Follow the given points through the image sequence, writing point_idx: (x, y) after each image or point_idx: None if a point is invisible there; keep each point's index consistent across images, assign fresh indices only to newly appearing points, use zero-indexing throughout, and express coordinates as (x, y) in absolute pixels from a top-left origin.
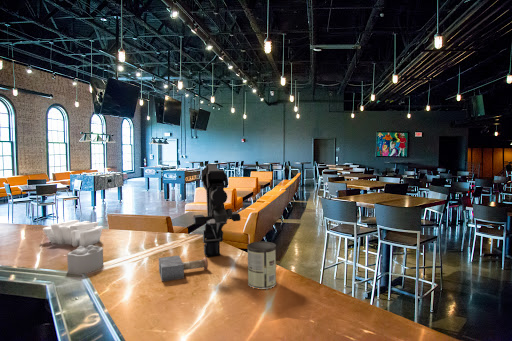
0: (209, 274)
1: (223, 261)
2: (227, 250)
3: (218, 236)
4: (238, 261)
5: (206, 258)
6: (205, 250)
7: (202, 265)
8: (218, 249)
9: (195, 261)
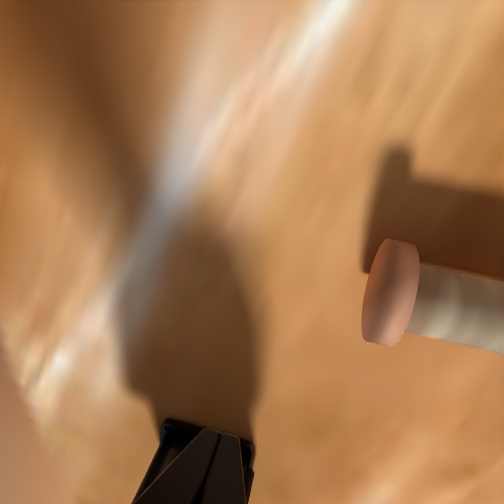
0: (412, 148)
1: (189, 327)
2: (100, 457)
3: (188, 461)
4: (97, 269)
5: (391, 299)
6: (247, 497)
7: (432, 267)
8: (159, 465)
9: (500, 322)
